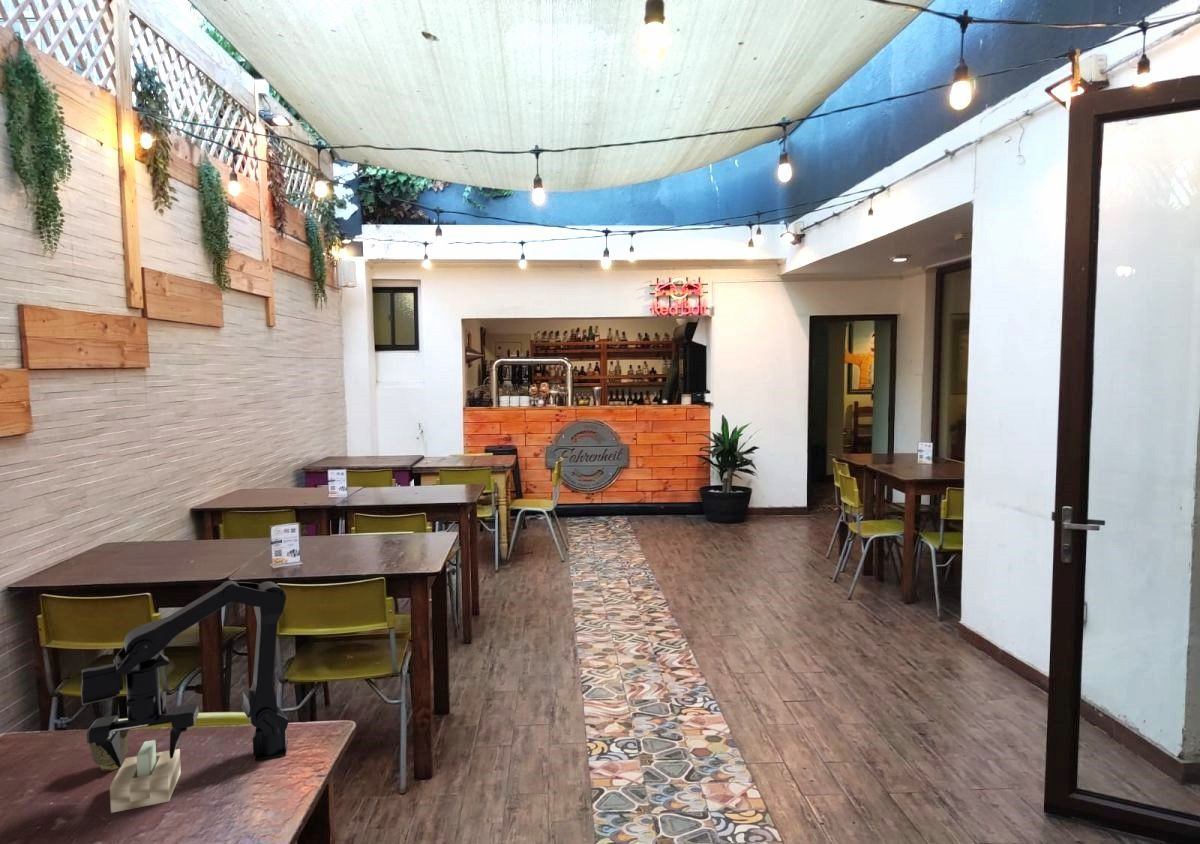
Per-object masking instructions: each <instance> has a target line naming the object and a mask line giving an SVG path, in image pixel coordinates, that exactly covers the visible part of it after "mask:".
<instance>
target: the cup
mask: <svg viewBox="0 0 1200 844" xmlns="http://www.w3.org/2000/svg"><path fill="white" fill-rule="evenodd" d="M130 730H131V729H128V730H122V731H120V745H121V752H122V759H124V757H125V756H126V755H127V752H128V749H129V743H130V733H131V731H130ZM89 750H90V754H91V757H92V760H93V762H94V763H95V764H97V765H98V766H100V770H101V771H102V772H112V771H114V770H116V769H119V768H118V766H117V765H116V763H115V762H114V761H113V759H112V758H111V756H110V755H109V754H108V753H107V752H106V751H105V750H104V749H103V748H102V747H101V746H95V743H90V744H89Z"/></svg>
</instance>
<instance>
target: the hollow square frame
mask: <svg viewBox="0 0 1200 844" xmlns="http://www.w3.org/2000/svg"><path fill="white" fill-rule="evenodd" d="M169 752H170V750H163V751H159V752H156V766H155V768H154V770H153V772H152V774H151V775H149V776H143V777H137V755H136V756H131V757H129V756H128V757H126V758H125V759H124V761H122V766H121V767H120V768H118V769H119V770H118V771H117V773H116V775H115V777H114V778H113V780H112V781H111V783H110V786H109V797H110V798H109V799H110V800H109V801H110V813H111V814H114V813H118V812H123V811H126V810H132V809H138V808H143V807H147V806H153V805H158V804H162V803H167V802H170V800H171V797H172V796H173V795H172V794H173V792H174V791H175V789H176V785H177V783H178V780H179V778H180V776H181V773H182V771H181V770H182V769H181V768H182V767H181V766H182V765H181V749H180V748H177V749H175V753H174V756H173V758H170V753H169Z"/></svg>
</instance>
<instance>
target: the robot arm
mask: <svg viewBox="0 0 1200 844" xmlns="http://www.w3.org/2000/svg"><path fill="white" fill-rule="evenodd" d="M286 602H287V594H286V592H285V591H284V590H283V588H281V587H280V586H278V584H276V582H274V581H267V580H266V581H263V582H261V583H258V582H257V583H255V582H249V581H248V582H247V581H246V582H245V581H244V582H243V581H234V580H226V581H223V582H222V583H220V585H219V586H217V587H215V588H214V589H211V590H210V591H209V592H207V593H205V594H204V595H202V596H200V597H198V598H197V599H196V600H194V601H191V602H190V603H188V604H187V605H185V606H183V607H182V608H180V609H178V610H176V611H175V612H173V613H171V614H169V615H168V616H165V617H164V618H160V619H157V620H153V621H149V622H147V623H145V624H142V625H139V626H138V627H136V628H133V629H132V630H131V631H129V632H127V634H126V635H125V638H124V640H123V646H122V647H121V649H120V651H118V653H117V654H116V656H115V657H114V659H113V663H110V664H105V665H101V666H95V667H87V668H83V669H82V670H81V682H80V691H81V692H80V694H81V706H84V705H89V704H92V703H97V702H100V701H106V700H109V699H114V698H117V696H118V695H120V693H121V691H123V690H124V683H123V676H124V675H125V681H126V683H125V684H126V685H125V686H126V687H125V688H126V701H125V707H126V708H127V719H123V720H119V717H118V715H111V716H103V717H98V718H96V719H95V720H94V722H93V723H92V724H91V725H90V727H89V728H88V729H87V732H86V743H87V744H89V745H90V743H95V746H101V747H102V748H103V749H104V750H105V751H106V752H107V753H108V754H109V755H110V756H111V758H112V759H113V761H114V762H115V763H116V765H117V766H118V768H117V769H120V768H121V766H122V764H123V758H122V752H121V745H120V731H122V730H128V729H130V730H133V729H134V730H135V729H140V728H146V727H151V726H159V725H164V724H171V727H172V728H171V730H170V733H169V734H170V735H169V736H170V737H169V751H170V752H169V753H170V758H173V756H174V753H175V749H176V748H177V746H178V743H179V739H180V736H181V734H182V733H184V732H186V731H187V730H188V729H189V728H190V727H193V726H195V724H196V722H197V720H198V716H199V706H198V705H197V704H196V703H188V704H182V705H176V706H175V708H174V711H173V712H168V713H161V712H164V710H165V707H166V706H167V703H166V702H167V691H162V688H161V686H160V668H161V667H164V666H169V665H170V664H171V661H170V660H169V657H168V656H166V655H163V654H162V653H161V651H163V650H164V649H166V648H167V647H168V645H169V644H170V643H171V642H172V641H173V640H174V639H175V638H176V637H177V636H178V635H180V634H181V633H183V632H184V631H186V630H189V628H192V627H193V626H194V625H196V624H198V623H199V622H201V621H202V620H204V619H207V617H209V616H211V615H212V614H214V613H215V612H217V611H219V610H221V609H222V608H224V607H225V606H227V605H229V604H230V603H239V604H241V605H245V606H252V607H253V609H254V610H253V611H254V613H255V618H256V637H255V638H256V639H255V646H254V647H255V648H254V649H255V650H254V662H253V674H252V675H253V677H252V684H251V686H250V688H249V690H247V689H246V690H242V698H243V700H242V704H241V709H242V711H243V713H244V715H246V718H247V719H248V720H249V722H250V724H251V725H252V726H253V727H254V728H255V731H254V732H253V734H252V735H253V736H252V752H253V754H252V755H254V761H255V762H256V761H262V760H263V761H264V760H267V759H273V758H279V757H284V756H286V755H287V751H288V746H289V745H288V744H289V741H288V739H287V735H288V734H287V729H288V728H287V727H288V726H289V723H290V720H289V718H288V717H287V716H286V714H285V713H284V712H283V710H282V709H281V707H280V706H278V702H277V695H276V691H275V687H274V679H275V678H274V676H275V664H276V663H275V662H276V649H277V638H278V637H277V635H278V624H279V622H280V620H281V618H282V616H283V613H284V609H285V605H286Z"/></svg>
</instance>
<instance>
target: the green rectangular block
mask: <svg viewBox="0 0 1200 844" xmlns="http://www.w3.org/2000/svg"><path fill="white" fill-rule="evenodd" d="M156 745H157V743H156V739H152V740H146V741H144V742H143V744H142V745H141V747H140V749H139V751H138V753H137V754H136V756H137V777H143V776H149V775H151V774H152V772H153V770H154V768H155V766H156V753H157V747H156Z"/></svg>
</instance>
